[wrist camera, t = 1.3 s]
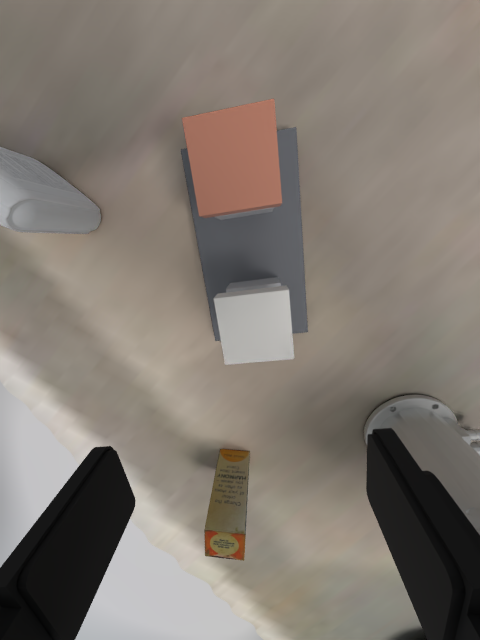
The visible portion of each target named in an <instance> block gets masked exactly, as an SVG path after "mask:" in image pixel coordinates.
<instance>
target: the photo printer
mask: <svg viewBox="0 0 480 640" xmlns="http://www.w3.org/2000/svg"><path fill="white" fill-rule="evenodd" d="M100 222H101V213H100V209H99V208H98V207H97V206H96V205H95V204H94V203H93V202H92V201H91V200H90V199H89V198H87V197H86V196H85V195H84V194H83V193H81V192H80V191H79V190H77V189H76V188H75V187H74V186H72V185H71V184H70V183H68V182H67V181H66V180H65V179H63V178H62V177H61V176H59V175H58V174H57V173H55V172H54V171H53V170H51V169H50V168H48V167H47V166H46V165H44V164H42V163H41V162H39V161H37V160H35V159H33V158H31V157H28V156H26V155H23V154H20V153H17V152H14V151H11V150H8V149H5V148H3V147H0V225H2V226H4V227H6V228H9V229H11V230H14V231H18V232H33V233H65V234H88V233H89V232H90V231H93V230H95V229H97V227H98V226H99V224H100Z"/></svg>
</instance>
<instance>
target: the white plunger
mask: <svg viewBox="0 0 480 640" xmlns="http://www.w3.org/2000/svg"><path fill="white" fill-rule="evenodd" d="M214 304H215V310H216V315H217V321H218V327H219V333H220V338H221V344H222V350H223V355H224V361H225V365H229V364H241V363H253V362H264V361H276V360H288V359H294V348H293V336H292V323H291V310H290V297H289V289H288V287H287V285H285V286H277V287H269V288H260V289H252V290H244V291H236V292H227V293H219V294H217V295H216V296H215V297H214Z"/></svg>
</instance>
